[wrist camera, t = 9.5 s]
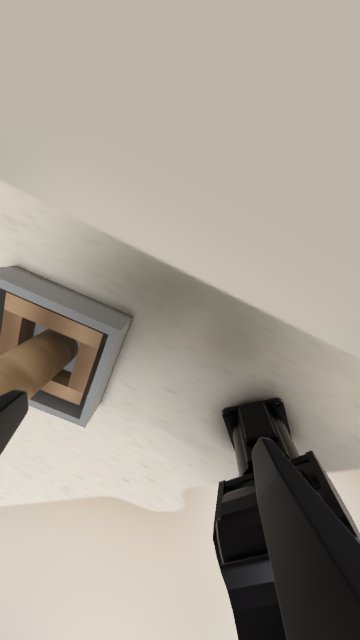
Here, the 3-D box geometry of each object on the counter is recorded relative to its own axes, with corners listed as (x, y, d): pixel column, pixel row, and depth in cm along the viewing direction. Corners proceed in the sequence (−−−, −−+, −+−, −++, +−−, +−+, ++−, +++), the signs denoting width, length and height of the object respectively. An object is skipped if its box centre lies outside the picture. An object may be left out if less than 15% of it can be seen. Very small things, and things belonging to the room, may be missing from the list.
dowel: (83, 359, 22) (-36, 479, 11) (49, 363, 23) (-97, 480, 12) (70, 325, 21) (-80, 421, 10) (35, 329, 22) (-145, 425, 10)
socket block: (111, 325, 21) (103, 334, 19) (88, 392, 24) (79, 405, 22) (24, 287, 20) (6, 292, 18) (12, 361, 23) (-5, 371, 21)
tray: (132, 317, 21) (120, 330, 18) (100, 403, 25) (84, 427, 22) (16, 265, 20) (-20, 270, 17) (2, 363, 24) (-29, 382, 21)
